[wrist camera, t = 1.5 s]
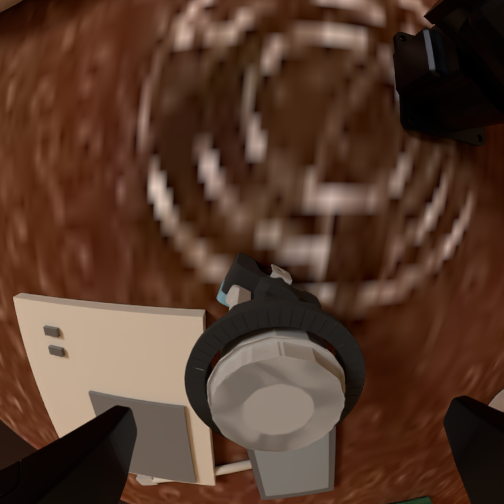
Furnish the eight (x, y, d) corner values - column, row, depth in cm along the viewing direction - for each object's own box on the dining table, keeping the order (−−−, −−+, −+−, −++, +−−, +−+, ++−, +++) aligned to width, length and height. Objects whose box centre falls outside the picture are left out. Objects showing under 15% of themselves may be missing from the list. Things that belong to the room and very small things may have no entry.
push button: (350, 281, 17) (440, 380, 7) (302, 355, 18) (335, 487, 8) (246, 224, 16) (233, 281, 7) (202, 307, 17) (152, 430, 8)
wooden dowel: (277, 449, 20) (278, 456, 19) (282, 456, 20) (282, 463, 19) (137, 473, 21) (135, 479, 20) (144, 479, 21) (142, 485, 20)
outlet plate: (205, 309, 17) (201, 319, 16) (215, 477, 21) (214, 488, 19) (21, 292, 17) (10, 298, 16) (72, 448, 21) (66, 457, 19)
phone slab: (332, 385, 18) (335, 393, 18) (332, 483, 21) (333, 490, 20) (236, 399, 19) (235, 407, 18) (261, 493, 21) (261, 500, 20)
